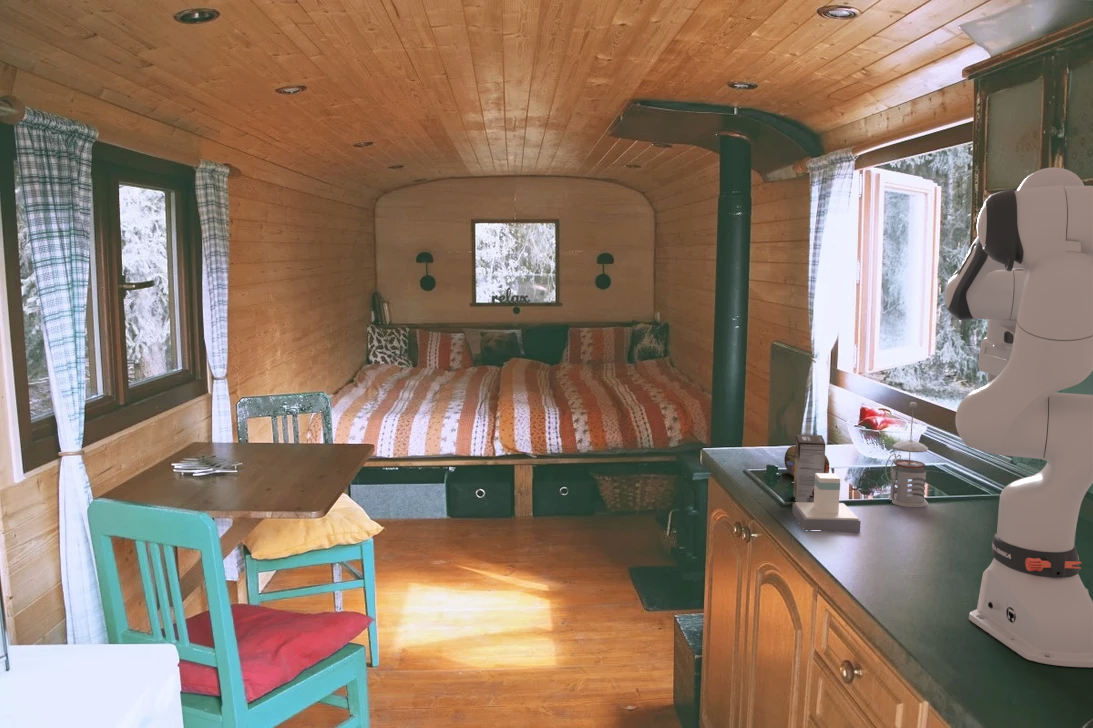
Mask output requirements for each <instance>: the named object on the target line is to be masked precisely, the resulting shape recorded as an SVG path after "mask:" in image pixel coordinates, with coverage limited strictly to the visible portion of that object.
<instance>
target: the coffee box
mask: <svg viewBox="0 0 1093 728" xmlns="http://www.w3.org/2000/svg"><path fill="white" fill-rule="evenodd" d="M795 446H796V448H795V471H794V476H793V498H794V497H795V499H794V502H795V501H796V502H814V486H815V484H814V482H815V473H824V463H825V455H826V442H825V440H824V437H823V435H820V434H818V435H817V434H795Z"/></svg>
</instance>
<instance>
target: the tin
mask: <svg viewBox="0 0 1093 728" xmlns="http://www.w3.org/2000/svg"><path fill="white" fill-rule="evenodd" d="M795 448H796V445H792V446H790V447H788V448H787V449H786V452H785V453H784V466H785V469H786V471H787V472H788V474H790V475H791V476H793V477H794V471H795ZM824 473H830V462H829V459H828V457H827V455H826V454H825V463H824Z"/></svg>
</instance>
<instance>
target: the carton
mask: <svg viewBox="0 0 1093 728" xmlns="http://www.w3.org/2000/svg"><path fill="white" fill-rule="evenodd" d="M814 484H815V486H814V508H815V509H816V511H817V512H818V513H838V512H839V503H840V491H841V478H840V477H839V476H838V475H837V474H836V473H835V472H834V473H831V472H829V473H815V482H814Z"/></svg>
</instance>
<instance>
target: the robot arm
mask: <svg viewBox="0 0 1093 728" xmlns="http://www.w3.org/2000/svg"><path fill="white" fill-rule="evenodd" d="M976 232H977V237H976V238H975V239H974V241H973V242H972V244H971V246H970V248H969V249H968V251H967V252H966V255H965V256H964V257H963V260H962V262H961V263H960V265H959V267H958V269H957V270H956V271H955V272H953V274H952V275H951V276H950V278H949V280H948V282H947V284H946V288H945V292H944V293H945V294H944V300H945V305H946V310H947V311H948V312H949V313H950V314H951V315H952V316H953V317H955V318H956V319H958V321H969V320H987V326H986V328H987V329H986V334H985V337H984V338H983V339H982V340H981V343H980V348H979V353H978V354H979V355H978V362H977V367H978V370H979V371H980V372H983V373H985V374H987V382H988V383H987V384H985V385H984V386H981V387H980V388H978V389H974V390H972V391H970V392H968V394H967V395H965V396H964V397H963V399H962V400H961V402H959V404H958V407H957V409H956V412H955V420H954V421H955V428H956V431H957V434H958V436H959V438H960V439H961V441H962V442H963V443H964V445H966V447H968V448H971V449H975V450H979V451H981V452H984V453H989V454H993V455H996V456H997V455H998V456H1007V457H1013V458H1014V457H1015V458H1016V457H1017V458H1025V459H1035V460H1042V461H1046V463H1045V466H1044V467H1043V468H1042V469H1041V470H1040V471H1039V472H1037V473H1035V474H1032V475H1029V476H1025V477H1021V478H1018V479H1016V480H1014V481H1012V482H1010V483H1008V484H1007V485H1006V486H1005V487H1004V488H1003V489H1002V491H1001V492H1000V495H999V501H998V503H999V504H998V515H997V527H996V528H997V529H996V532H995V533H994V534H993V540H992V543H991V547H992V550H991V551H992V552H991V556H992V557H993V559H992V561H991V563H990V564H989V566H988V567H987V568H985V569H984V571H983V573H982V578H981V581H980V582H981V583H980V588H979V595H978V600H977V607H976V609H974V610H971V611H970V612H969V615H968V620H969V621H971V623H973V624H975V625H976V626H978V628H979V627H980V629H982V630H983V631H984V632H986V633H988V634H989V635H990V636H991V637H993V638H995V639H997V640H998V641H999V642H1001V643H1002V644H1003V645H1005V646H1007V647H1008V648H1010V649H1011V650H1012V651H1014V652H1016V653H1017V654H1018V655H1019V656H1021V657H1023V658H1024V659H1026V660H1028V661H1031V662H1036V663H1039V664H1045V665H1052V666H1061V667H1073V668H1093V600H1092V598H1091V596H1090V594H1089V593H1090V592H1089V589H1088V588H1086V587H1085V585H1084V582H1083V581H1082V579H1081V577H1080V575H1079V573H1080V572H1081V569H1082V567H1080V565H1081V564H1082V561H1080V558H1079V557H1080V556H1079V554H1078V548H1077V546H1076V545H1075V542H1076V531H1077V524H1078V519H1079V514H1080V509H1081V507H1082V506H1081V505H1082V502H1083V499H1084V497H1085V496H1086V494H1087V492H1088V491H1089V489H1090V487H1091V486H1092V485H1093V394H1087V393H1086V394H1083V393H1072V392H1071V393H1070V392H1068V393H1066V392H1060V391H1063V390H1066V389H1069V388H1071V387H1074V386H1077V385H1079V384H1080V383H1082V382H1083V381H1085V379H1087V378H1088V377H1089V376H1090V374H1092V372H1093V185H1085V184H1084V182H1083V180H1081V178H1080V177H1079V176H1078V175H1077V174H1076V173H1075V172H1073V171H1071V170H1069V169H1066V168H1062V167H1054V166H1053V167H1046V168H1045V167H1044V168H1041V169H1039V170H1037V171H1034V172H1033V173H1031V174H1029V175H1027V176H1026V178H1024V179H1023V181H1022V182H1021V184H1019V186H1018V188H1017V189H1016V190H1014V189H1013V188H1012V189H1007V190H1003V191H998V192H996V193H993V194H990V195H989V196H988V197H987V198H986V199H985V201H983V205H982V207H981V209H980V212H979V213H978V217H977V221H976Z"/></svg>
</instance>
